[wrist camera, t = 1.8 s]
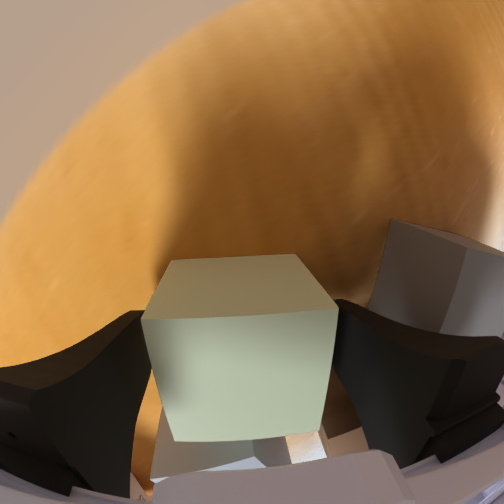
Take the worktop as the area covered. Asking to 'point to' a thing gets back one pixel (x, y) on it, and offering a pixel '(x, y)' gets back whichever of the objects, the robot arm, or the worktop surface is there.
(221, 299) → the sage block
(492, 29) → the worktop surface
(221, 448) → the slate block
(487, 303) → the charcoal block
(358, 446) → the walnut block
